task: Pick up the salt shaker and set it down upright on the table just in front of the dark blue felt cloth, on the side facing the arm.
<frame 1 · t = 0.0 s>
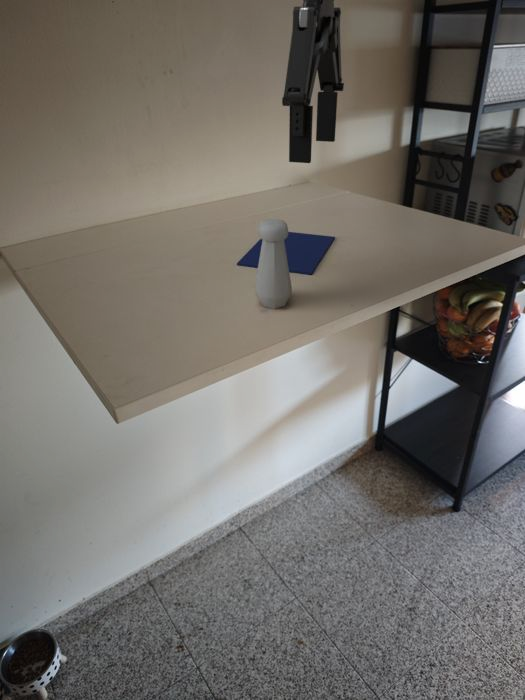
hand: (313, 151, 69), 22 cm above the table, tool pointing down, fingers open, 13 cm apart
salt shaker: (273, 303, 78), on the table
cloth: (288, 251, 95), on the table
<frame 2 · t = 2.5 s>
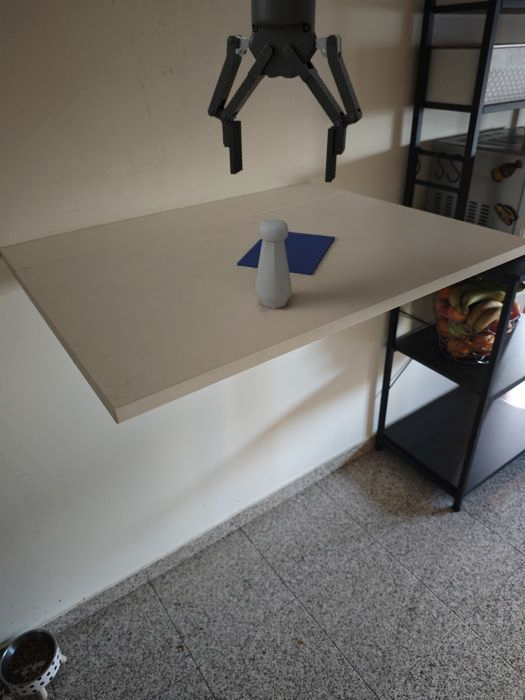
hand: (282, 176, 69), 19 cm above the table, tool pointing down, fingers open, 13 cm apart
nothing on the table moved.
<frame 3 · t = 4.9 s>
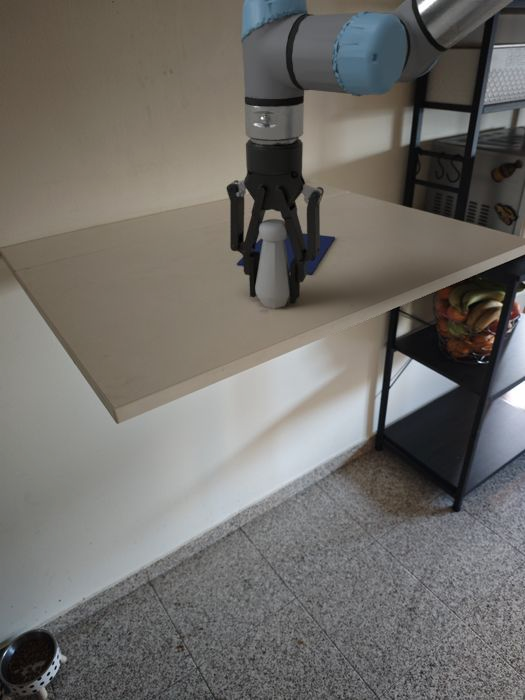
hand: (274, 295, 78), 1 cm above the table, tool pointing down, fingers closed on salt shaker, 6 cm apart
salt shaker: (273, 303, 78), on the table, touching gripper
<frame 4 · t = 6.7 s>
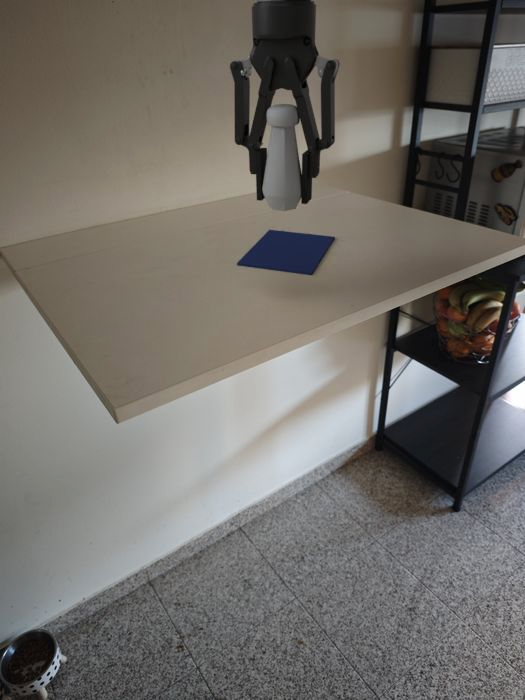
hand: (284, 199, 70), 16 cm above the table, tool pointing down, fingers closed on salt shaker, 6 cm apart
salt shaker: (283, 207, 71), point 15 cm above the table, touching gripper
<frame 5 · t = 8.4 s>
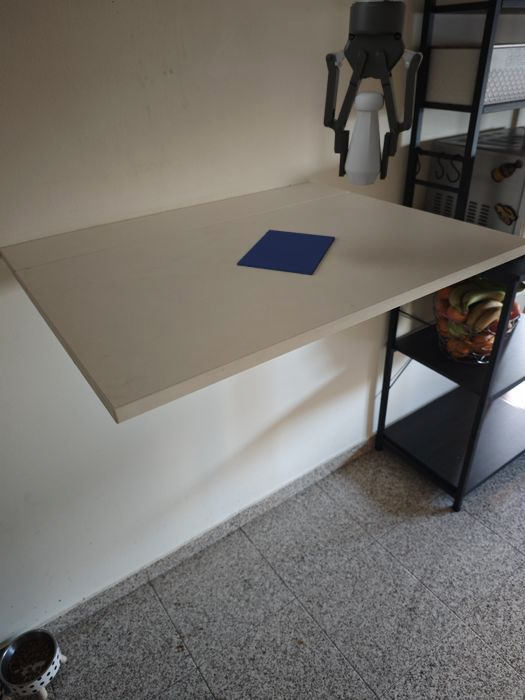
hand: (362, 175, 80), 16 cm above the table, tool pointing down, fingers closed on salt shaker, 6 cm apart
salt shaker: (361, 183, 80), point 15 cm above the table, touching gripper
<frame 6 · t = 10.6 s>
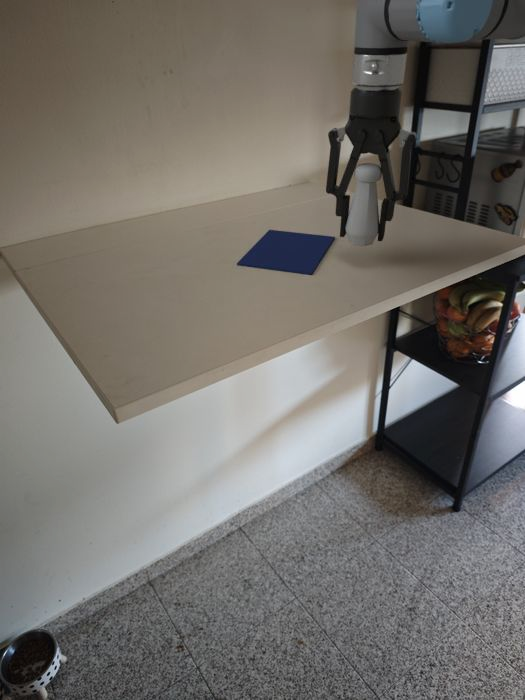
hand: (361, 236, 87), 5 cm above the table, tool pointing down, fingers closed on salt shaker, 6 cm apart
salt shaker: (360, 243, 87), point 4 cm above the table, touching gripper
when the fingers open (1 cm above the table, at t = 12.0 s): salt shaker stays where it is, on the table.
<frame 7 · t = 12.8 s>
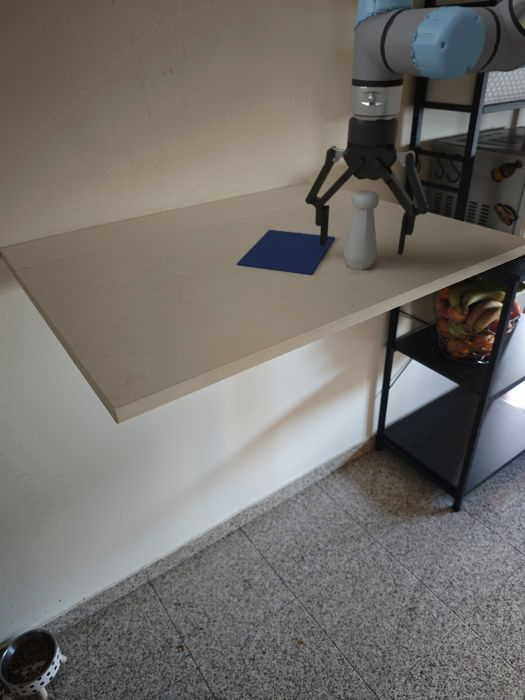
hand: (361, 247, 88), 3 cm above the table, tool pointing down, fingers open, 13 cm apart
salt shaker: (358, 266, 89), on the table
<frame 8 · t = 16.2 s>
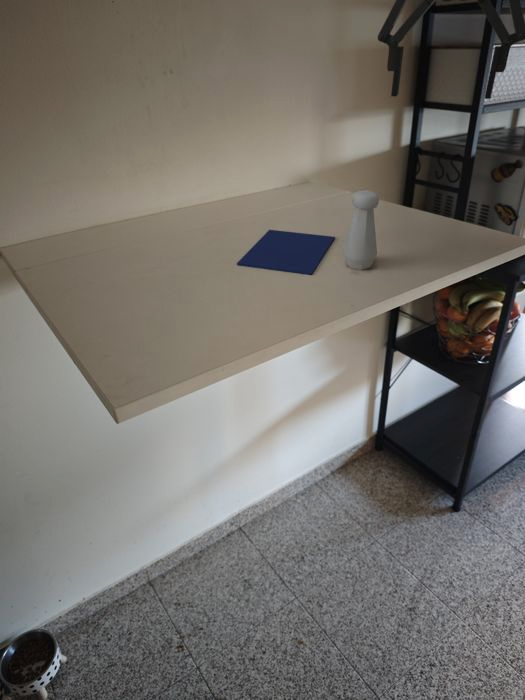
hand: (439, 96, 76), 27 cm above the table, tool pointing down, fingers open, 13 cm apart
nothing on the table moved.
at the end: salt shaker inside the target area on the table beside the cloth (2.4 cm from its centre), on the table; salt shaker tilted 0°; the gripper is holding nothing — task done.
